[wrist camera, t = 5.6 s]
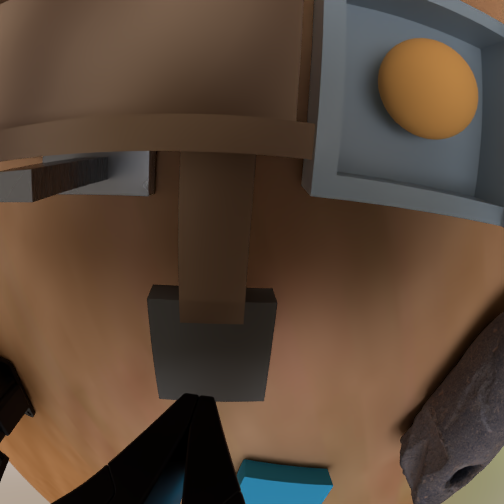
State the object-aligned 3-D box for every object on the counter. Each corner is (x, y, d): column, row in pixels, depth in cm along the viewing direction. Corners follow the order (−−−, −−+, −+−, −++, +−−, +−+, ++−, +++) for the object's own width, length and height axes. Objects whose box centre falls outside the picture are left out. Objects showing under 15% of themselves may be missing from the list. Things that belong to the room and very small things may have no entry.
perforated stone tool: (489, 275, 14) (564, 336, 7) (529, 296, 14) (590, 348, 8) (370, 447, 19) (388, 521, 12) (419, 448, 19) (442, 511, 13)
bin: (301, 185, 13) (347, 239, 5) (314, -10, 10) (350, -124, 2) (475, 212, 13) (588, 269, 5) (484, 44, 10) (588, 15, 2)
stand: (52, 191, 14) (-31, 220, 8) (72, -2, 10) (5, -39, 4) (154, 193, 13) (83, 227, 8) (176, -25, 10) (132, -93, 4)
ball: (468, 152, 10) (382, 135, 12) (470, 67, 9) (386, 53, 11) (484, 146, 7) (366, 122, 9) (482, 32, 6) (369, 15, 8)
